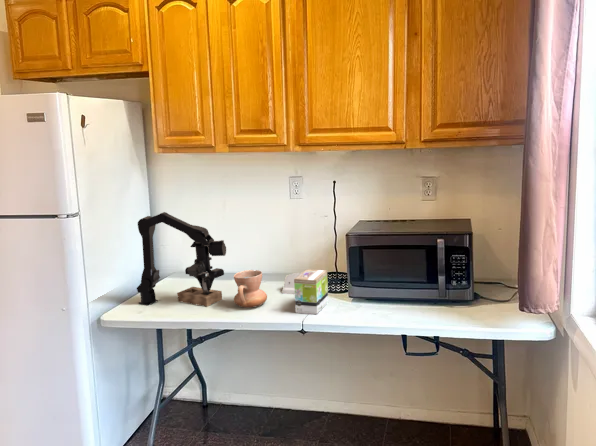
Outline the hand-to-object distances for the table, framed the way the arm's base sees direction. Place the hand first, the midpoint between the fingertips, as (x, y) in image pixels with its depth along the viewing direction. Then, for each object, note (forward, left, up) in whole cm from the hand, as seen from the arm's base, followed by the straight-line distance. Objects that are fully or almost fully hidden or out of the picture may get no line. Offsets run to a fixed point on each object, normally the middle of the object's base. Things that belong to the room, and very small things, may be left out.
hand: (206, 289), depth 244 cm
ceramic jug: (+22, +4, -6) cm, 23 cm away
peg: (0, 0, -4) cm, 4 cm away
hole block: (-4, 0, -6) cm, 7 cm away
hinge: (+32, +28, -6) cm, 43 cm away
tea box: (+49, +12, -6) cm, 50 cm away
